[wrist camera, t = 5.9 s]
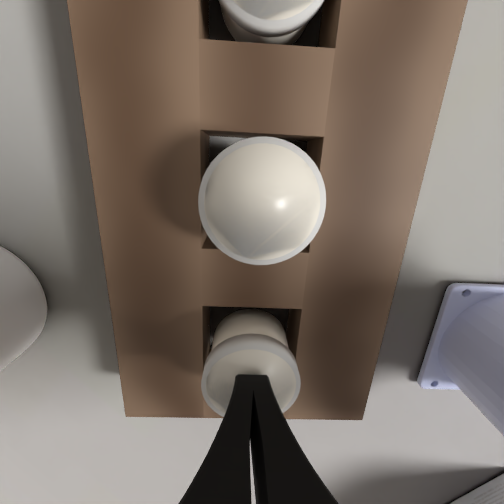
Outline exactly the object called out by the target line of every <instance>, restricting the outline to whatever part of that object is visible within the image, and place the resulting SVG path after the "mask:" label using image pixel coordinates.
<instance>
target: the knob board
mask: <svg viewBox="0 0 504 504" xmlns="http://www.w3.org/2000/svg"><path fill="white" fill-rule="evenodd" d="M467 1H468V0H324V2H323V6H322V15H321V24H320V33H319V43H318V47H308V46H294V45H280V44H266V43H251V42H237V41H223V40H209V0H67V5H68V12H69V19H70V26H71V33H72V40H73V47H74V54H75V61H76V68H77V76H78V83H79V90H80V97H81V104H82V111H83V118H84V125H85V132H86V139H87V146H88V153H89V160H90V167H91V175H92V182H93V189H94V196H95V203H96V210H97V217H98V224H99V231H100V238H101V245H102V252H103V259H104V266H105V273H106V281H107V288H108V295H109V302H110V309H111V316H112V323H113V330H114V337H115V344H116V351H117V358H118V365H119V372H120V379H121V387H122V394H123V401H124V408H125V415H126V417H187V418H224V417H222V416H220V415H219V414H217V413H216V412H215V411H214V410H212V409H211V408H210V407H209V405H208V404H207V403H206V401H205V399H204V397H203V394H202V390H201V380H202V375H203V370H204V365H205V362H206V359H207V357H208V355H209V354H210V352H211V350H212V349H210V306H221V307H253V308H286V309H289V316H288V325H287V334H286V339H287V343H288V347H289V350H290V351H291V352H292V354H293V355H294V357H295V360H296V363H297V367H298V371H299V375H300V381H301V385H300V391H299V394H298V397H297V399H296V400H295V402H294V403H293V405H292V406H291V407H290V408H289V409H288V410H287V411H285V412H284V413H283V415H284V417H285V419H325V420H362V419H363V415H364V411H365V407H366V403H367V399H368V395H369V391H370V387H371V383H372V379H373V375H374V371H375V367H376V363H377V359H378V355H379V351H380V347H381V343H382V339H383V335H384V331H385V327H386V323H387V319H388V315H389V311H390V307H391V303H392V299H393V296H394V292H395V288H396V284H397V280H398V276H399V272H400V268H401V264H402V260H403V256H404V252H405V248H406V244H407V240H408V236H409V232H410V228H411V224H412V220H413V216H414V212H415V208H416V204H417V200H418V196H419V192H420V188H421V184H422V180H423V176H424V172H425V168H426V164H427V160H428V156H429V152H430V148H431V144H432V140H433V136H434V132H435V129H436V125H437V121H438V117H439V113H440V109H441V105H442V101H443V97H444V93H445V89H446V85H447V81H448V77H449V73H450V69H451V65H452V61H453V57H454V53H455V49H456V45H457V41H458V37H459V33H460V29H461V25H462V21H463V17H464V13H465V9H466V5H467ZM209 136H224V137H242V138H252V137H266V136H267V137H275V138H279V139H283V140H296V141H308V143H307V152H306V154H307V155H308V156H309V157H310V158H311V159H312V160H313V162H314V163H315V164H316V166H317V167H318V169H319V171H320V173H321V176H322V179H323V182H324V185H325V191H326V209H325V214H324V218H323V221H322V224H321V226H320V228H319V230H318V232H317V234H316V235H315V237H314V238H313V240H312V241H311V242H310V243H309V244H308V245H307V246H306V247H305V248H304V249H303V250H302V251H301V252H299V253H298V254H296V255H295V256H293V257H291V258H289V259H287V260H285V261H282V262H279V263H275V264H269V265H253V264H247V263H243V262H240V261H238V260H235V259H233V258H231V257H229V256H228V255H226V254H225V253H223V252H222V251H221V250H220V249H219V248H217V247H216V245H215V244H214V243H213V242H212V241H211V239H210V238H209V237H208V235H207V233H206V231H205V229H204V227H203V225H202V222H201V219H200V214H199V207H198V196H199V189H200V185H201V182H202V179H203V176H204V174H205V172H206V170H207V168H208V167H209Z"/></svg>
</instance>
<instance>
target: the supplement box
mask: <svg viewBox="0 0 504 504" xmlns="http://www.w3.org/2000/svg"><path fill="white" fill-rule="evenodd" d="M450 504H504V473H503V474H502V475H500V476H498V477H496V478H495V479H493V480H491V481H489V482H487V483H486V484H484V485H482V486H480V487H478V488H477V489H475V490H473V491H471V492H469V493H468V494H466V495H464V496H462V497H461V498H459V499H457V500H455V501H454V502H452V503H450Z"/></svg>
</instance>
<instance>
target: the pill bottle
mask: <svg viewBox="0 0 504 504" xmlns="http://www.w3.org/2000/svg"><path fill="white" fill-rule="evenodd" d="M46 318H47V302H46V297H45V294H44V291H43V288H42V286H41V284H40V282H39V281H38V279H37V277H36V276H35V275H34V273H33V272H32V271H31V269H30V268H29V267H28V266H27V265H26V264H25V263H24V262H23V261H22V260H21V259H19V258H18V257H17V256H16V255H14V254H13V253H11V252H10V251H8V250H7V249H5V248H3V247H1V246H0V372H1V371H2V370H3V369H4V368H5V367H6V366H8V365H9V364H10V363H11V362H12V361H14V360H15V359H16V358H17V357H18V356H20V355H21V354H22V353H23V352H24V351H26V350H27V349H28V348H29V346H30V345H31V344H32V343H33V342H34V341H35V340H36V339H37V338H38V336H39V335H40V333H41V332H42V330H43V328H44V325H45V322H46Z"/></svg>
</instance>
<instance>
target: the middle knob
mask: <svg viewBox="0 0 504 504" xmlns="http://www.w3.org/2000/svg"><path fill="white" fill-rule="evenodd" d="M198 207H199V214H200V219H201V222H202V225H203V227H204V229H205V231H206V233H207V235H208V237H209V238H210V239H211V241H212V242H213V243H214V244H215V245H216V247H217V248H219V249H220V250H221V251H222V252H223V253H225V254H226V255H228V256H229V257H231V258H233V259H235V260H238V261H240V262H243V263H247V264H253V265H269V264H275V263H279V262H282V261H285V260H287V259H289V258H291V257H293V256H295V255H296V254H298V253H299V252H301V251H302V250H303V249H304V248H305V247H306V246H307V245H308V244H309V243H310V242H311V241H312V240H313V238H314V237H315V235H316V234H317V232H318V230H319V228H320V226H321V224H322V221H323V218H324V214H325V209H326V191H325V185H324V182H323V179H322V176H321V173H320V171H319V169H318V167H317V166H316V164H315V163H314V162H313V160H312V159H311V158H310V157H309V156H308V155H307V154H306V153H305V152H304V151H303V150H302V149H300V148H299V147H297V146H296V145H294V144H292V143H290V142H288V141H286V140H283V139H279V138H275V137H267V136H266V137H252V138H247V139H244V140H241V141H238V142H236V143H234V144H232V145H230V146H229V147H227V148H226V149H224V150H223V151H222V152H221V153H220V154H219V155H217V157H216V158H215V159H214V160H213V161H212V162H211V164H210V165H209V167H208V168H207V170H206V172H205V174H204V176H203V179H202V182H201V185H200V189H199V196H198Z"/></svg>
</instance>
